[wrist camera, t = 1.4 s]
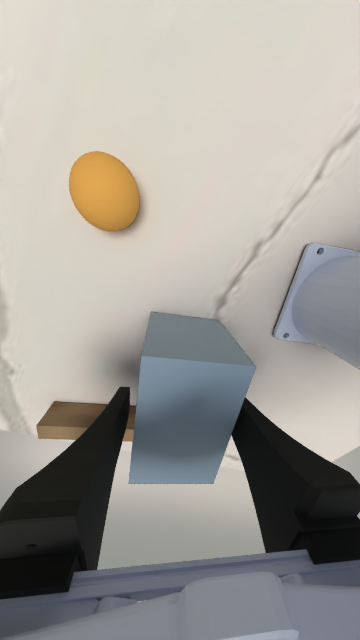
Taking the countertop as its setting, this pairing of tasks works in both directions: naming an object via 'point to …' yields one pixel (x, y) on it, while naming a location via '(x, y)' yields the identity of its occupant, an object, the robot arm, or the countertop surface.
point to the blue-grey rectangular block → (186, 400)
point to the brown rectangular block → (75, 420)
